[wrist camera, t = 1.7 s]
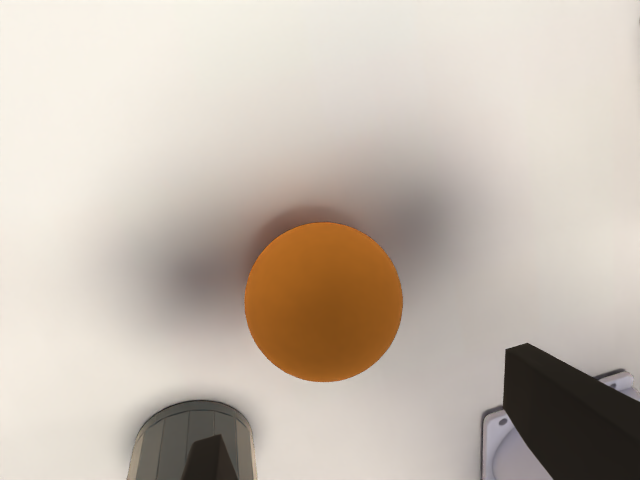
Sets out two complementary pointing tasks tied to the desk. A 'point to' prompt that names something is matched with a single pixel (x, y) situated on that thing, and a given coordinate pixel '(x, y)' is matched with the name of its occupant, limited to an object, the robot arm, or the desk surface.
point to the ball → (323, 302)
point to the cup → (190, 440)
